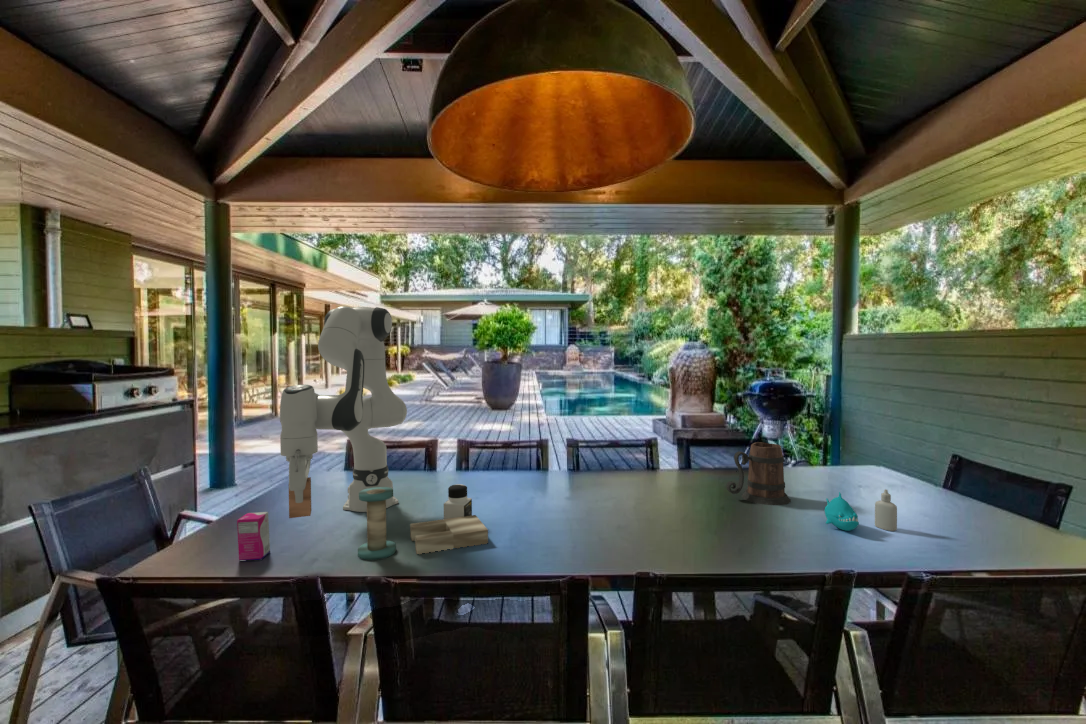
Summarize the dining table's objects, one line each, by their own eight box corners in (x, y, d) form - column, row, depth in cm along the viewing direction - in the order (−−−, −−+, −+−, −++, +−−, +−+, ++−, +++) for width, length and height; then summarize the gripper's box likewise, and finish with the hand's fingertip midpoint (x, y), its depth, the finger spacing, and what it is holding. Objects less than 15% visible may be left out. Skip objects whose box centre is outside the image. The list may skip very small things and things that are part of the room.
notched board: (410, 537, 149) (410, 523, 149) (475, 527, 157) (475, 514, 157) (417, 554, 136) (417, 540, 136) (488, 543, 144) (487, 529, 144)
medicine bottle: (464, 526, 157) (464, 489, 157) (443, 525, 159) (442, 488, 159) (472, 519, 164) (471, 483, 164) (451, 518, 166) (451, 482, 166)
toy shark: (836, 536, 147) (836, 500, 147) (810, 516, 165) (811, 484, 165) (871, 537, 146) (872, 501, 146) (842, 517, 164) (842, 484, 164)
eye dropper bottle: (886, 525, 156) (887, 487, 156) (899, 531, 151) (899, 492, 150) (872, 525, 156) (873, 487, 156) (884, 531, 151) (884, 492, 150)
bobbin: (357, 548, 141) (356, 488, 140) (394, 543, 144) (393, 484, 144) (358, 562, 131) (357, 498, 131) (397, 556, 135) (396, 494, 135)
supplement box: (248, 553, 138) (247, 512, 138) (270, 552, 139) (269, 511, 138) (237, 562, 132) (236, 519, 132) (260, 561, 133) (259, 518, 132)
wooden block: (290, 512, 134) (290, 479, 133) (311, 510, 136) (310, 477, 135) (289, 518, 129) (288, 483, 129) (310, 515, 131) (309, 481, 131)
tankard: (773, 490, 195) (774, 439, 194) (801, 504, 178) (801, 448, 178) (716, 493, 192) (716, 441, 192) (739, 507, 175) (739, 450, 175)
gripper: (310, 453, 123) (311, 508, 124) (314, 439, 142) (315, 487, 143) (281, 455, 121) (282, 512, 121) (289, 441, 140) (290, 490, 140)
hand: (300, 498), depth 132 cm, fingers closed on wooden block, 5 cm apart
